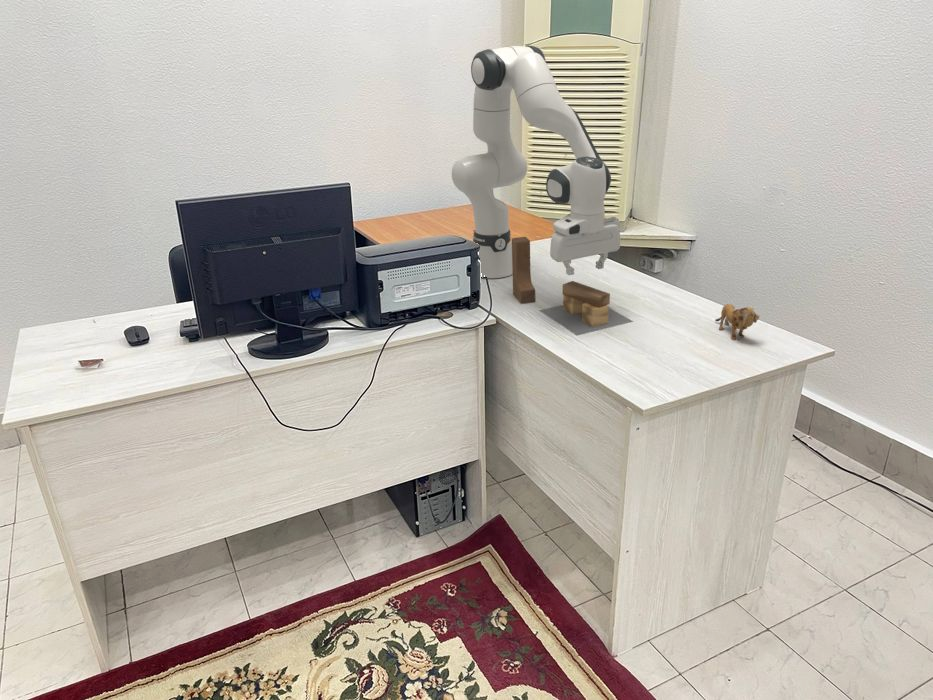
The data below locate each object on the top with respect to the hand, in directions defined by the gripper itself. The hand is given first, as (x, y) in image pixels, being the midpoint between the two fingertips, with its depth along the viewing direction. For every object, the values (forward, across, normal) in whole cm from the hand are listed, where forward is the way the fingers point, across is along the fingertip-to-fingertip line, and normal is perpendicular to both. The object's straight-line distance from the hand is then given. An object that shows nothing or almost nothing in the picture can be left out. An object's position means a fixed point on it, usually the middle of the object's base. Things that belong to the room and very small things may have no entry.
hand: (584, 271), depth 185 cm
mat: (+13, 0, +1) cm, 13 cm away
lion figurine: (+13, -27, +29) cm, 42 cm away
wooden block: (+14, +8, -20) cm, 26 cm away
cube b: (+13, 0, +6) cm, 14 cm away
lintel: (+8, 0, +1) cm, 8 cm away
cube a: (+13, 0, -4) cm, 14 cm away
